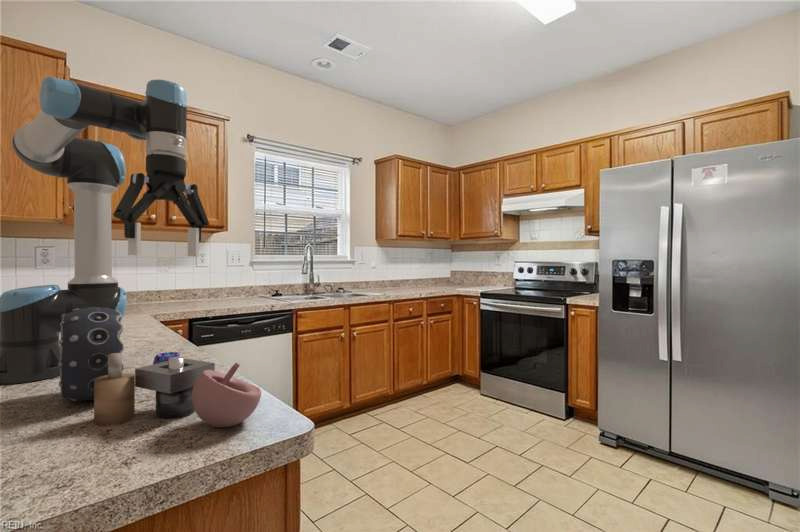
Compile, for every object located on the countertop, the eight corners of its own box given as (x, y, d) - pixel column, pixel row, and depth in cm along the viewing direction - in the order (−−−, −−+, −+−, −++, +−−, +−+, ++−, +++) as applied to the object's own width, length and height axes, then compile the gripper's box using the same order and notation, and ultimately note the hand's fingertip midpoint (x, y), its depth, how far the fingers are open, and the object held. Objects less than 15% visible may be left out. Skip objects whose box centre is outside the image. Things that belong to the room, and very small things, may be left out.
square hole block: (135, 386, 80) (135, 368, 80) (180, 373, 89) (180, 357, 89) (170, 393, 76) (170, 375, 76) (214, 379, 85) (214, 362, 85)
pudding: (139, 371, 113) (139, 352, 113) (187, 365, 121) (187, 347, 121) (144, 381, 104) (144, 361, 104) (195, 374, 111) (196, 355, 111)
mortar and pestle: (268, 429, 75) (268, 367, 75) (195, 444, 69) (195, 376, 68) (253, 408, 85) (253, 354, 85) (188, 420, 79) (189, 360, 79)
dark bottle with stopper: (153, 411, 83) (153, 357, 83) (191, 404, 87) (192, 352, 87) (157, 422, 77) (157, 364, 77) (198, 414, 82) (198, 359, 81)
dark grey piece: (57, 417, 79) (57, 314, 79) (63, 390, 95) (64, 304, 95) (124, 406, 86) (124, 311, 85) (119, 382, 102) (120, 302, 101)
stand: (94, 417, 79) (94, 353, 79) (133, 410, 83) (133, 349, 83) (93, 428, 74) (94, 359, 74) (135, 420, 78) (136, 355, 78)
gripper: (117, 138, 75) (116, 254, 75) (225, 168, 97) (224, 256, 98) (92, 143, 78) (91, 254, 78) (202, 170, 100) (202, 256, 101)
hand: (165, 256), depth 88 cm, fingers open, 13 cm apart
